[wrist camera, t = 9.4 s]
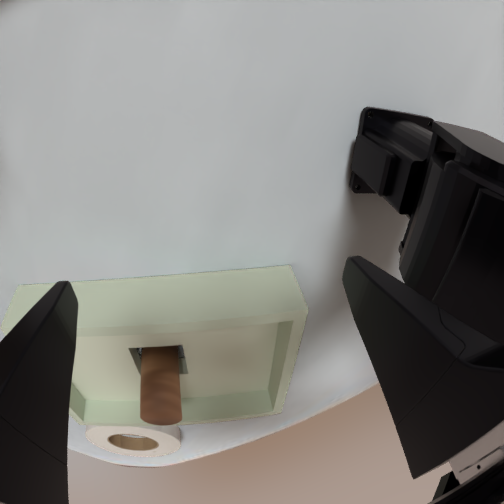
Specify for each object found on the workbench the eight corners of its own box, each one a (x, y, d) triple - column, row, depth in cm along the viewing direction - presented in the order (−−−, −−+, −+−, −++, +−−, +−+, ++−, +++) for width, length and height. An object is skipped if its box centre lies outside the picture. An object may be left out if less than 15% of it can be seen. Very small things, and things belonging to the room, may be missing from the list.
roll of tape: (70, 423, 40) (69, 438, 37) (119, 399, 36) (119, 417, 34) (142, 448, 48) (143, 461, 46) (200, 428, 45) (202, 444, 42)
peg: (175, 332, 29) (178, 408, 22) (180, 353, 31) (185, 424, 25) (138, 334, 28) (135, 409, 22) (146, 356, 30) (145, 426, 24)
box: (290, 264, 26) (308, 309, 22) (271, 378, 37) (280, 413, 33) (18, 285, 22) (0, 327, 18) (83, 389, 33) (79, 424, 29)
